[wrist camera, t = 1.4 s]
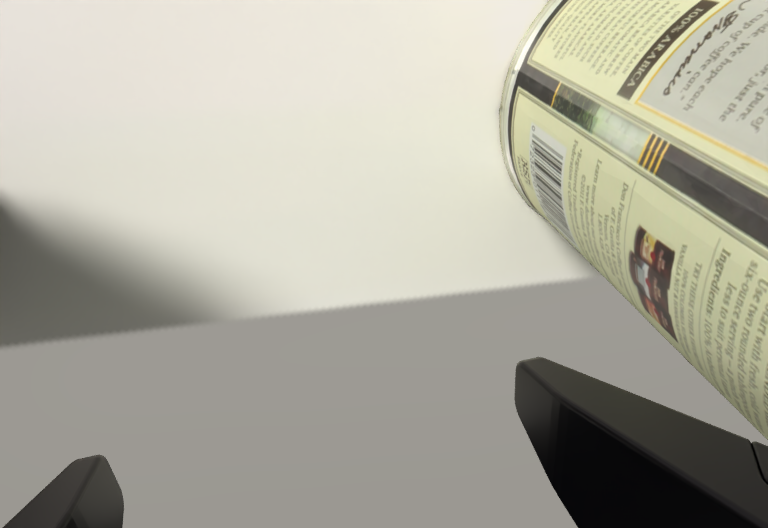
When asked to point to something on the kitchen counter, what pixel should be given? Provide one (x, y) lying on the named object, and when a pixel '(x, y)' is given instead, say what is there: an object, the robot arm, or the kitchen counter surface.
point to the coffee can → (657, 166)
